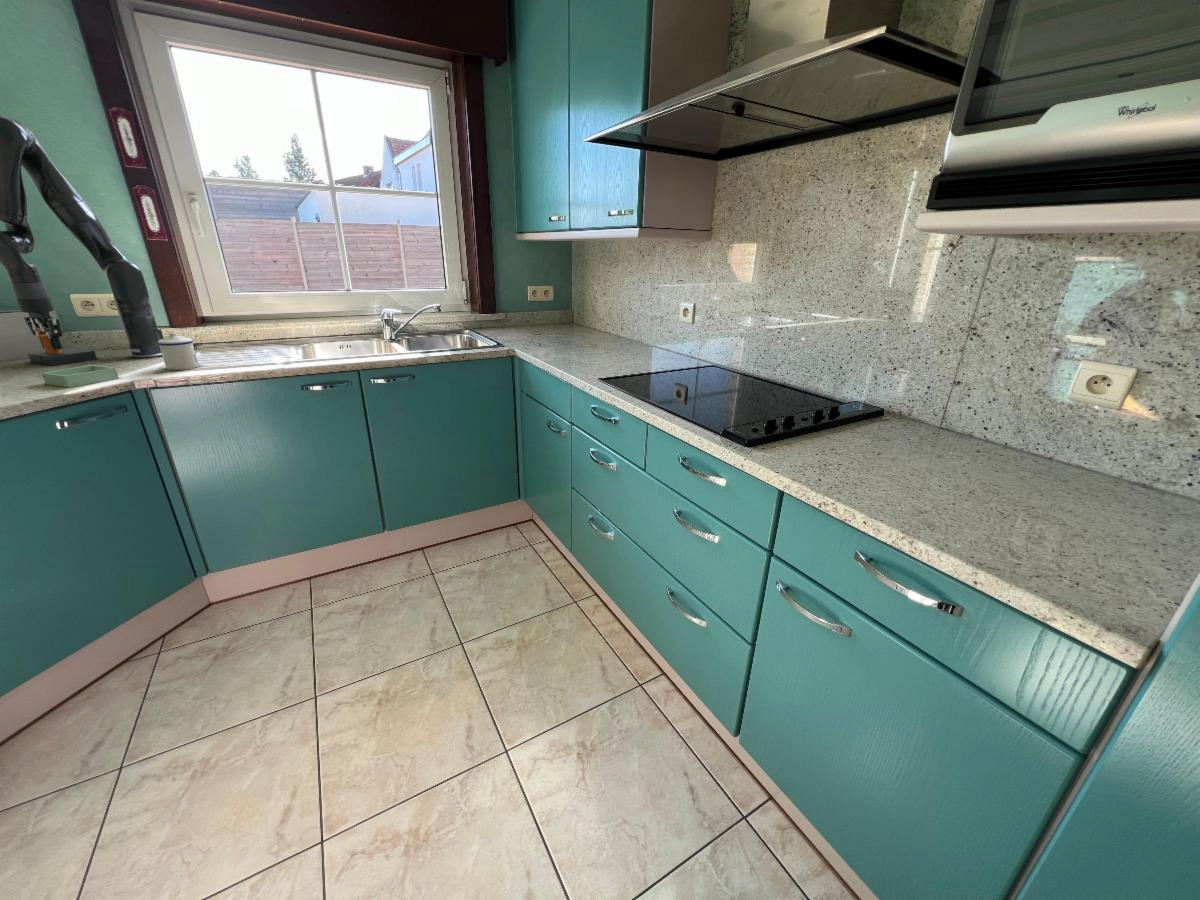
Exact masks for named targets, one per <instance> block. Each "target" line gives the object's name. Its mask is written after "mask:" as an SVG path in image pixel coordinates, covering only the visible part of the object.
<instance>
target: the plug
mask: <svg viewBox="0 0 1200 900" xmlns="http://www.w3.org/2000/svg"><path fill="white" fill-rule="evenodd" d="M37 336H38V337H37ZM37 336H36V337H37V339H39V338H41V340H42V342H43V345H44V347H45V348H44V349H45V350H44V351H46V352H47V354H59V353H62V350H61V349H59V350H54V349H53V348H52V346H51V343H50V341H49V338H48V336H47V335H46V334H42V335H37Z"/></svg>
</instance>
